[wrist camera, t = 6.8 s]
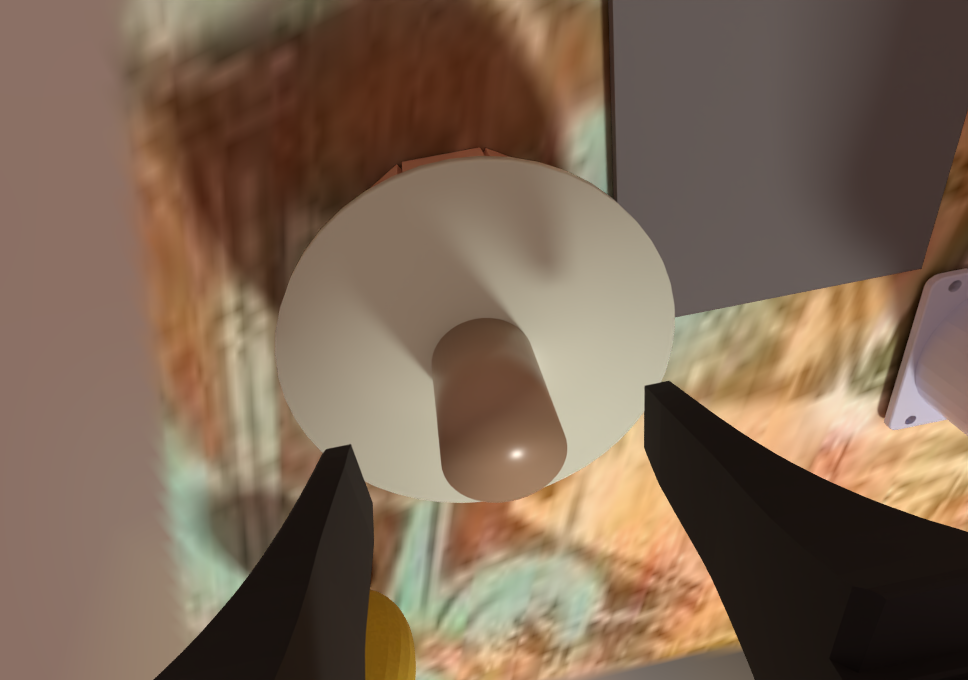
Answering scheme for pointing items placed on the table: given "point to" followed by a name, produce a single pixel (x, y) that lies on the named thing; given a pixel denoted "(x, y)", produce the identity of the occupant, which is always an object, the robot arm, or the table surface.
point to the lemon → (388, 641)
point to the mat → (784, 138)
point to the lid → (474, 329)
